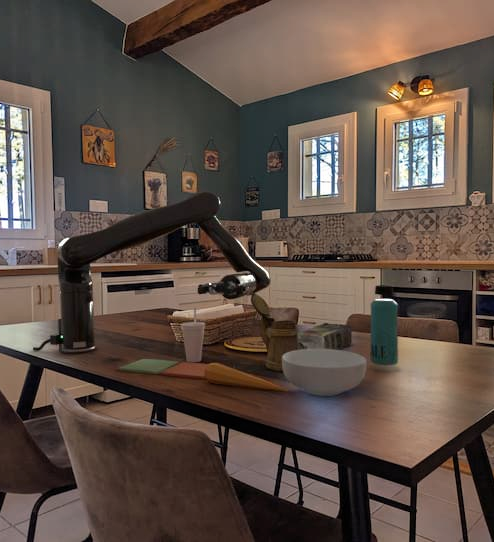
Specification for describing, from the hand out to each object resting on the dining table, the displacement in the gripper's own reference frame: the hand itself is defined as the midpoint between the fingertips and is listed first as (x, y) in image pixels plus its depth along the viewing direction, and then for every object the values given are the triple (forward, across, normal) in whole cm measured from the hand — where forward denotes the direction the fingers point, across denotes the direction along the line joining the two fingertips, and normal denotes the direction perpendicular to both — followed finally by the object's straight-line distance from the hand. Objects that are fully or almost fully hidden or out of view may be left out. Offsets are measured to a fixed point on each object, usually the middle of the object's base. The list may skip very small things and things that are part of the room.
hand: (212, 290), depth 143 cm
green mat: (+22, -7, +17) cm, 29 cm away
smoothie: (+12, 0, +17) cm, 21 cm away
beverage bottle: (+4, +47, +18) cm, 50 cm away
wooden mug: (+10, +22, +18) cm, 30 cm away
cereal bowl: (+27, +38, +18) cm, 50 cm away
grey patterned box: (-14, +28, +18) cm, 36 cm away
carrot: (+30, +22, +17) cm, 41 cm away
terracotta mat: (+22, +5, +17) cm, 28 cm away
